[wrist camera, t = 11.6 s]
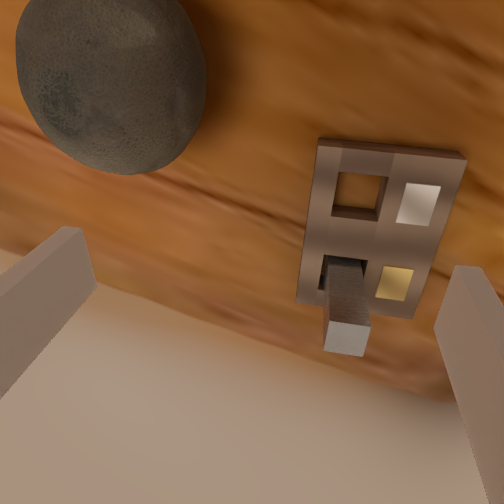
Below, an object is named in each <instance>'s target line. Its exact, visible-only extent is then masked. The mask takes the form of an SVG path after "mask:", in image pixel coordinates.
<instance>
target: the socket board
mask: <svg viewBox="0 0 504 504" xmlns="http://www.w3.org/2000/svg"><path fill="white" fill-rule="evenodd" d="M467 162H468V160H467V159H466V158H465V157H464V156H463V155H461V154H460V153H459V152H458V151H451V150H441V149H430V148H420V147H409V146H399V145H389V144H378V143H368V142H357V141H347V140H337V139H326V138H318V145H317V152H316V159H315V166H314V173H313V180H312V187H311V194H310V201H309V208H308V215H307V222H306V229H305V236H304V243H303V250H302V257H301V264H300V271H299V278H298V285H297V294H296V303H302V304H309V305H316V306H323V296H324V276H321V275H320V273H321V268H322V262H323V256H324V254H325V255H333V256H341V257H348V258H356V259H363V260H362V264H361V267H362V273H363V279H364V286H365V292H366V298H367V305H368V311H369V313H371V314H378V315H385V316H392V317H399V318H406V319H413V316H414V313H415V311H416V308H417V305H418V302H419V299H420V296H421V293H422V291H423V288H424V285H425V282H426V279H427V276H428V273H429V271H430V268H431V265H432V262H433V259H434V256H435V253H436V251H437V248H438V245H439V242H440V239H441V236H442V233H443V231H444V228H445V225H446V222H447V219H448V216H449V213H450V211H451V208H452V205H453V202H454V199H455V196H456V193H457V191H458V188H459V185H460V182H461V179H462V176H463V173H464V171H465V168H466V165H467ZM338 172H347V173H357V174H366V175H376V176H382V180H381V184H380V189H379V193H378V197H377V201H376V205H375V209H374V210H372V209H364V208H355V207H346V206H338V205H333V200H334V194H335V189H336V183H337V177H338Z"/></svg>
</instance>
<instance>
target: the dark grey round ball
mask: <svg viewBox="0 0 504 504" xmlns="http://www.w3.org/2000/svg"><path fill="white" fill-rule="evenodd" d="M16 65H17V74H18V81H19V86H20V89H21V93H22V95H23V98H24V100H25V102H26V104H27V106H28V108H29V110H30V112H31V114H32V116H33V117H34V119H35V121H36V123H37V124H38V126H39V127H40V129H41V130H42V131H43V132H44V134H45V135H46V136H47V137H48V138H49V139H50V140H51V142H52V143H53V144H54V145H55V146H56V147H57V148H59V149H60V150H61V151H63V152H64V153H66V154H67V155H69V156H70V157H72V158H73V159H75V160H77V161H78V162H80V163H82V164H84V165H86V166H89V167H91V168H95V169H98V170H101V171H105V172H108V173H114V174H120V175H134V174H140V173H147V172H152V171H155V170H158V169H160V168H163V167H164V166H166V165H168V164H169V163H171V162H172V161H173V160H175V159H176V158H177V157H178V156H179V155H180V154H181V153H182V152H183V151H184V149H185V148H186V147H187V145H188V144H189V142H190V140H191V139H192V137H193V136H194V134H195V132H196V131H197V129H198V126H199V124H200V120H201V117H202V114H203V110H204V106H205V100H206V87H207V84H206V80H207V73H206V62H205V57H204V53H203V50H202V47H201V44H200V41H199V38H198V35H197V33H196V31H195V29H194V27H193V25H192V23H191V21H190V19H189V16H188V14H187V13H186V11H185V10H184V8H183V7H182V5H181V4H180V3H179V1H178V0H30V2H29V3H28V4H27V5H26V7H25V9H24V11H23V13H22V15H21V18H20V20H19V24H18V27H17V30H16Z"/></svg>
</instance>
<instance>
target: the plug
mask: <svg viewBox="0 0 504 504" xmlns="http://www.w3.org/2000/svg"><path fill="white" fill-rule="evenodd" d="M370 329H371V323H370V317H369V311H368V305H367V298H366V292H365V286H364V279H363V273H362V267H361V260H360V259H356V258H348V257H341V256H333V255H326V261H325V266H324V296H323V351H329V352H335V353H342V354H348V355H354V356H361V357H363V354H364V350H365V347H366V343H367V340H368V336H369V333H370Z"/></svg>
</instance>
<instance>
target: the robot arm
mask: <svg viewBox="0 0 504 504" xmlns="http://www.w3.org/2000/svg"><path fill="white" fill-rule="evenodd" d="M96 288H97V284H96V280H95V276H94V272H93V269H92V265H91V261H90V257H89V253H88V249H87V246H86V242H85V238H84V234H83V230H82V228H77V227H67V226H63V227H61V228H60V229H59V230H58V231H56V232H55V233H54V234H53V235H51V236H50V237H49V238H47V239H46V240H45V241H44V242H42V243H41V244H40V245H39V246H37V247H36V248H35V249H33V250H32V251H31V252H30V253H28V254H27V255H26V256H25V257H23V258H22V259H21V260H20V261H18V262H17V263H16V264H14V265H13V266H12V267H11V268H9V269H8V270H7V271H6V272H4V273H3V274H2V275H0V399H1V398H2V397H3V396H4V394H5V393H6V392H7V391H8V390H9V389H10V387H11V386H12V385H13V384H14V383H15V382H16V380H17V379H18V378H19V377H20V376H21V375H22V374H23V372H24V371H25V370H26V369H27V368H28V366H29V365H30V364H31V363H32V362H33V361H34V360H35V359H36V357H37V356H38V355H39V354H40V353H41V352H42V350H43V349H44V348H45V347H46V346H47V345H48V343H49V342H50V341H51V340H52V339H53V337H55V335H56V334H57V333H58V332H59V331H60V330H61V328H62V327H63V326H64V325H65V324H66V323H67V321H68V320H69V319H70V318H71V317H72V316H73V314H74V313H75V312H76V311H77V310H78V309H79V308H80V306H81V305H82V304H83V303H84V302H85V301H86V299H87V298H88V297H89V296H90V295H91V294H92V293H93V291H94V290H95V289H96ZM434 332H435V335H436V338H437V341H438V344H439V347H440V350H441V354H442V357H443V360H444V363H445V366H446V369H447V372H448V376H449V379H450V382H451V385H452V388H453V391H454V394H455V398H456V401H457V404H458V407H459V410H460V413H461V416H462V419H463V422H464V426H465V429H466V432H467V435H468V438H469V441H470V445H471V448H472V451H473V454H474V457H475V460H476V463H477V467H478V470H479V473H480V476H481V479H482V482H483V485H484V488H485V492H486V495H487V498H488V501H489V504H504V306H503V304H502V303H501V301H500V299H499V297H498V296H497V294H496V292H495V291H494V289H493V287H492V285H491V284H490V282H489V280H488V279H487V277H486V275H485V273H484V272H483V270H482V268H481V267H473V266H463V265H455V268H454V271H453V273H452V276H451V279H450V282H449V285H448V288H447V291H446V293H445V296H444V299H443V302H442V305H441V308H440V311H439V314H438V316H437V319H436V322H435V325H434Z"/></svg>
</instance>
